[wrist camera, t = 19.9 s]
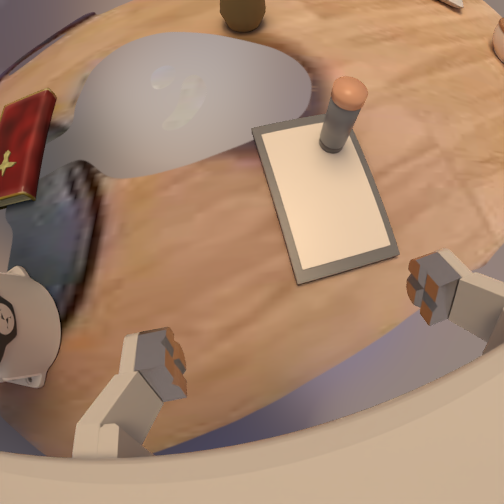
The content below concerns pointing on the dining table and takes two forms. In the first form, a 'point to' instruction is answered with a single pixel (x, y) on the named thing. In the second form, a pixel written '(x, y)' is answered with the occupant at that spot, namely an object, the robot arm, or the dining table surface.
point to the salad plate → (454, 3)
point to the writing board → (323, 200)
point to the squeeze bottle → (242, 13)
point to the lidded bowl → (499, 40)
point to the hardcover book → (23, 145)
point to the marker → (342, 113)
